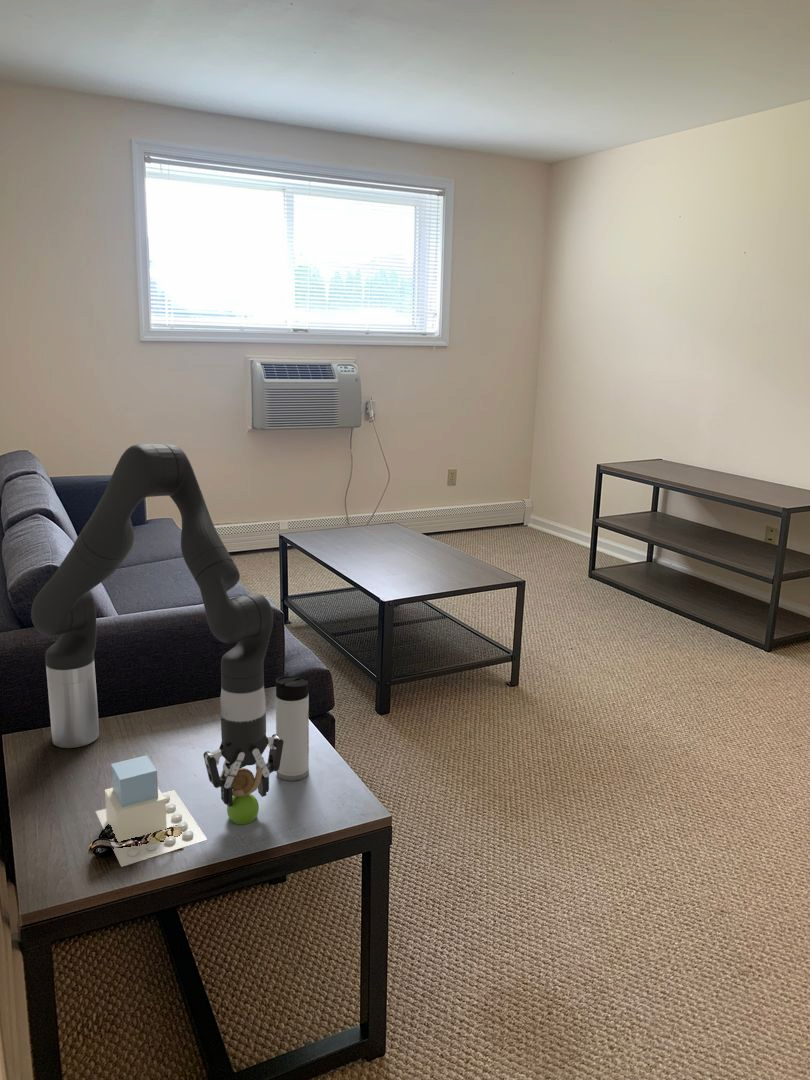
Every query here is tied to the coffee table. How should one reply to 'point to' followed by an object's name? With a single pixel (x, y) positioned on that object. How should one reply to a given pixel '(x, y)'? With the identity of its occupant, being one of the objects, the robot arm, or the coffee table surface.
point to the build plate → (174, 816)
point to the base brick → (135, 816)
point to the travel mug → (293, 726)
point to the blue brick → (134, 780)
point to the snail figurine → (244, 796)
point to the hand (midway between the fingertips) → (245, 798)
